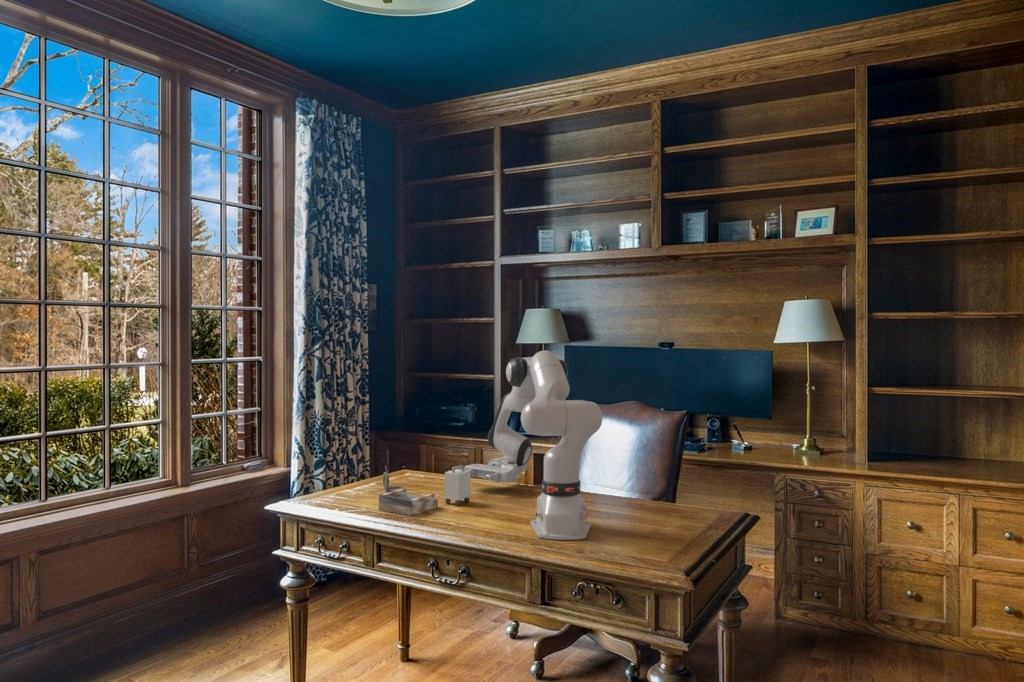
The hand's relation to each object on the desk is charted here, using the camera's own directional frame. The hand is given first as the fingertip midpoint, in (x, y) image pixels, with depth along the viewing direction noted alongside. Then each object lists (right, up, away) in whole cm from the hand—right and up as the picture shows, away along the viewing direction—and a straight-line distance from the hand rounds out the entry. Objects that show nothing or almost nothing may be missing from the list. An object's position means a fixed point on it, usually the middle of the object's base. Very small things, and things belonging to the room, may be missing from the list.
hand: (477, 476), depth 250 cm
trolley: (-7, -7, -10) cm, 14 cm away
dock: (-22, -7, -19) cm, 30 cm away
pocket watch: (-32, -7, +6) cm, 34 cm away
